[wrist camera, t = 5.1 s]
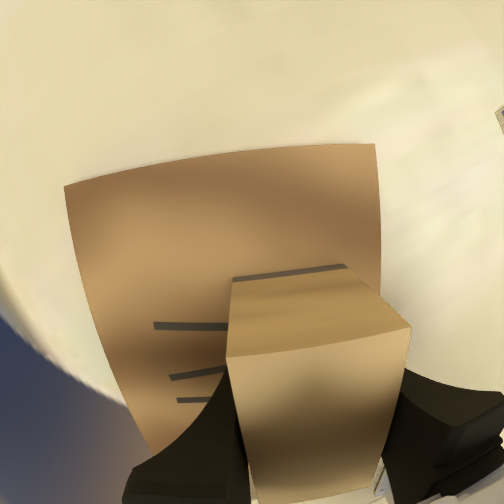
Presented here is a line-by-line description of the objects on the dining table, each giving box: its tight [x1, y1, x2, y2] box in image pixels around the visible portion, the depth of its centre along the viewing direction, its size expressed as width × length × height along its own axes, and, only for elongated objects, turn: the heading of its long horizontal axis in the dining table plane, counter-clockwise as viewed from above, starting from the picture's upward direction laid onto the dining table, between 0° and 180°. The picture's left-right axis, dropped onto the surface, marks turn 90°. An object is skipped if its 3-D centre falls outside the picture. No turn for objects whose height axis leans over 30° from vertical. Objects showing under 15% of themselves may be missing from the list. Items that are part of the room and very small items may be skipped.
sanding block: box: [226, 264, 412, 504], centre depth 10 cm, size 8×4×6 cm, turn 6°
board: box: [64, 144, 381, 470], centre depth 13 cm, size 18×13×1 cm
